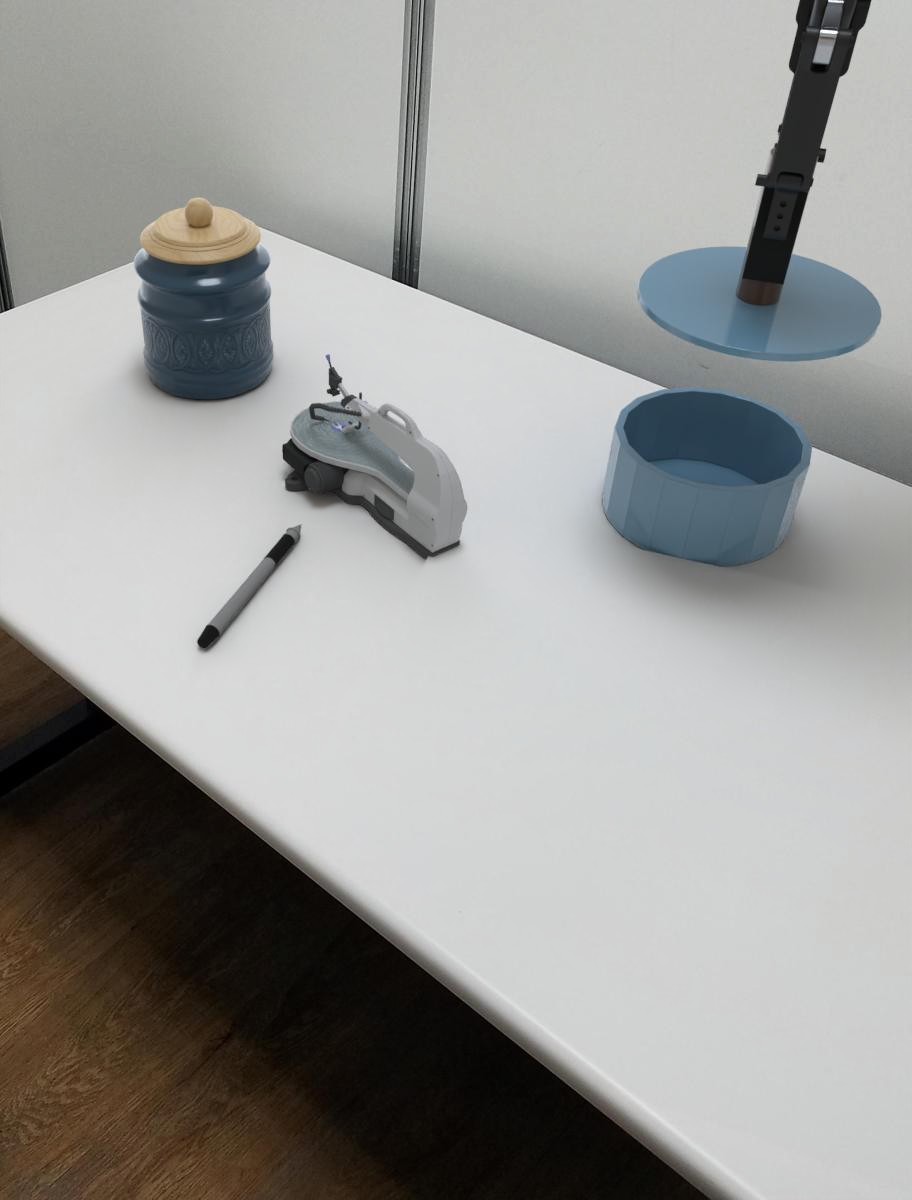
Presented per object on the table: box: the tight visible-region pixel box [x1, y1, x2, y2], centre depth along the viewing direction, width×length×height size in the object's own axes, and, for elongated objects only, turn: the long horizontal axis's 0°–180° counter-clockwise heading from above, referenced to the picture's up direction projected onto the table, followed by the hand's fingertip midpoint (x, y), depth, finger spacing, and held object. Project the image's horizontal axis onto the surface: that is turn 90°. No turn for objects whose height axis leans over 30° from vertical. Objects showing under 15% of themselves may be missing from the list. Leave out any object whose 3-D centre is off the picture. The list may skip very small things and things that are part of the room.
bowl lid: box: [636, 146, 883, 363], centre depth 80 cm, size 16×16×11 cm
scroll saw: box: [281, 353, 468, 560], centre depth 100 cm, size 20×11×12 cm
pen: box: [196, 523, 303, 650], centre depth 94 cm, size 1×16×1 cm, turn 154°
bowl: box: [601, 386, 813, 567], centre depth 99 cm, size 15×16×8 cm
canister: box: [133, 197, 274, 400], centre depth 114 cm, size 13×13×18 cm
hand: (765, 267), depth 82 cm, fingers closed on bowl lid, 3 cm apart
